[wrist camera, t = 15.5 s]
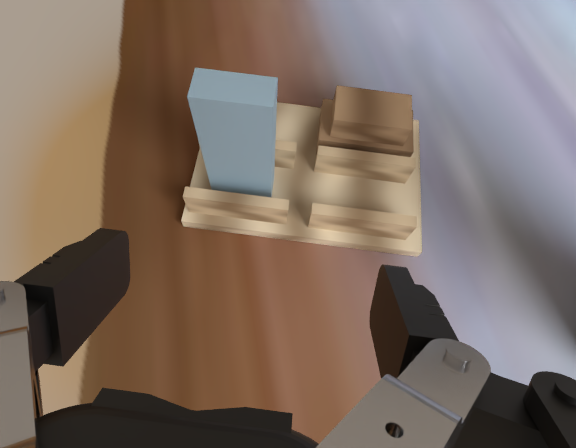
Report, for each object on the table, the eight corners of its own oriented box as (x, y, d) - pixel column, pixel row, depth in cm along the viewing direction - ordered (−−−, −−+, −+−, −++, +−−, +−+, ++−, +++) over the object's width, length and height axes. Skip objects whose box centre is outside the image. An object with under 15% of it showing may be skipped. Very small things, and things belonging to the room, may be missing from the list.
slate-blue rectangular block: (274, 178, 38) (277, 77, 26) (270, 201, 37) (273, 107, 25) (217, 171, 38) (195, 67, 26) (212, 194, 37) (187, 96, 25)
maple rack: (414, 127, 43) (429, 100, 39) (417, 256, 36) (435, 240, 33) (215, 101, 43) (209, 72, 39) (183, 226, 36) (173, 206, 33)
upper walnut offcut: (402, 112, 39) (411, 95, 36) (403, 146, 37) (412, 129, 35) (332, 103, 39) (336, 85, 36) (329, 136, 37) (333, 119, 35)
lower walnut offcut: (404, 126, 41) (412, 110, 39) (404, 166, 39) (413, 152, 37) (320, 115, 41) (323, 98, 39) (315, 154, 39) (318, 139, 37)
